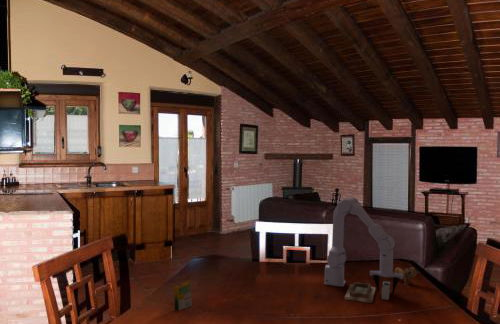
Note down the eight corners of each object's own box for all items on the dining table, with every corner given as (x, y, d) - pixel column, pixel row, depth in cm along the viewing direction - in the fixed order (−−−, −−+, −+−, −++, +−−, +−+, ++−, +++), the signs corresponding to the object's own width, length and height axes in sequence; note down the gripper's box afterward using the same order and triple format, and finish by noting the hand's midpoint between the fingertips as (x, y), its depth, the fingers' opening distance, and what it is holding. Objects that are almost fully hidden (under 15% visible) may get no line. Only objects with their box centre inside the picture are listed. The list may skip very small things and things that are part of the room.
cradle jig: (344, 299, 191) (344, 292, 191) (350, 286, 208) (350, 280, 207) (372, 303, 186) (372, 296, 186) (375, 289, 203) (375, 283, 203)
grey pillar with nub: (381, 299, 192) (381, 286, 191) (383, 291, 201) (383, 279, 201) (388, 300, 190) (388, 287, 190) (389, 292, 200) (390, 280, 200)
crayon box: (187, 304, 184) (186, 277, 184) (191, 305, 183) (191, 279, 182) (174, 309, 179) (173, 282, 178) (178, 311, 177) (178, 283, 176)
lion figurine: (418, 285, 210) (419, 267, 210) (412, 287, 207) (412, 269, 207) (393, 277, 222) (393, 260, 222) (386, 279, 219) (387, 262, 219)
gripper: (369, 264, 194) (368, 293, 195) (402, 267, 189) (402, 297, 189) (370, 260, 201) (370, 288, 201) (403, 263, 195) (402, 292, 196)
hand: (385, 292), depth 196 cm, fingers open, 6 cm apart
